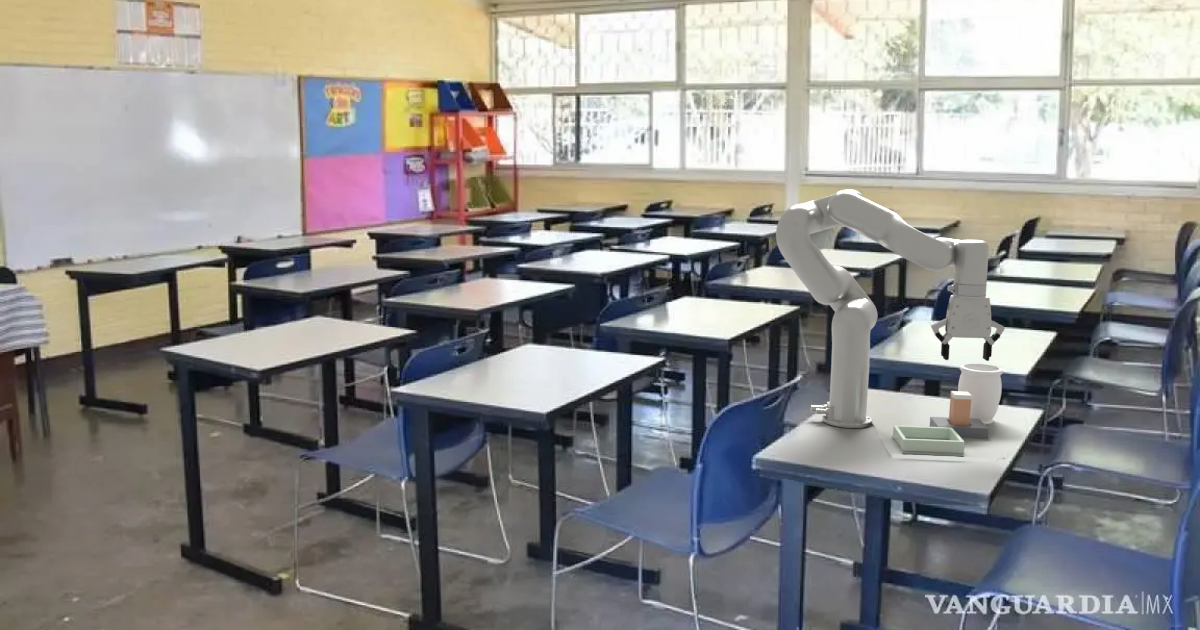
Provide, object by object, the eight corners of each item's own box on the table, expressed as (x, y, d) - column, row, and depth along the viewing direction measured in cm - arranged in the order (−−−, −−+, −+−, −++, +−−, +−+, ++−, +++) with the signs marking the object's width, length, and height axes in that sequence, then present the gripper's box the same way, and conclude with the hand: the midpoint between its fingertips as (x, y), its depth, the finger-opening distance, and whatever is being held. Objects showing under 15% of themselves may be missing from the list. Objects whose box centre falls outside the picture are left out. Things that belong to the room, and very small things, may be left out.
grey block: (937, 440, 254) (938, 426, 254) (929, 430, 263) (930, 416, 262) (987, 442, 253) (988, 428, 253) (977, 432, 262) (978, 418, 261)
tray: (902, 454, 242) (903, 439, 242) (892, 439, 254) (893, 425, 254) (963, 456, 241) (964, 441, 241) (950, 441, 253) (952, 427, 252)
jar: (992, 418, 275) (996, 363, 272) (1003, 429, 265) (1008, 372, 262) (951, 417, 276) (955, 362, 273) (960, 427, 266) (965, 370, 263)
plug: (951, 434, 256) (954, 394, 254) (948, 429, 260) (951, 391, 258) (968, 434, 256) (971, 395, 254) (964, 430, 260) (967, 391, 258)
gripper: (936, 292, 249) (933, 362, 252) (1011, 293, 247) (1006, 363, 250) (930, 288, 256) (926, 355, 259) (1001, 288, 255) (997, 357, 258)
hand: (965, 359), depth 255 cm, fingers open, 9 cm apart
